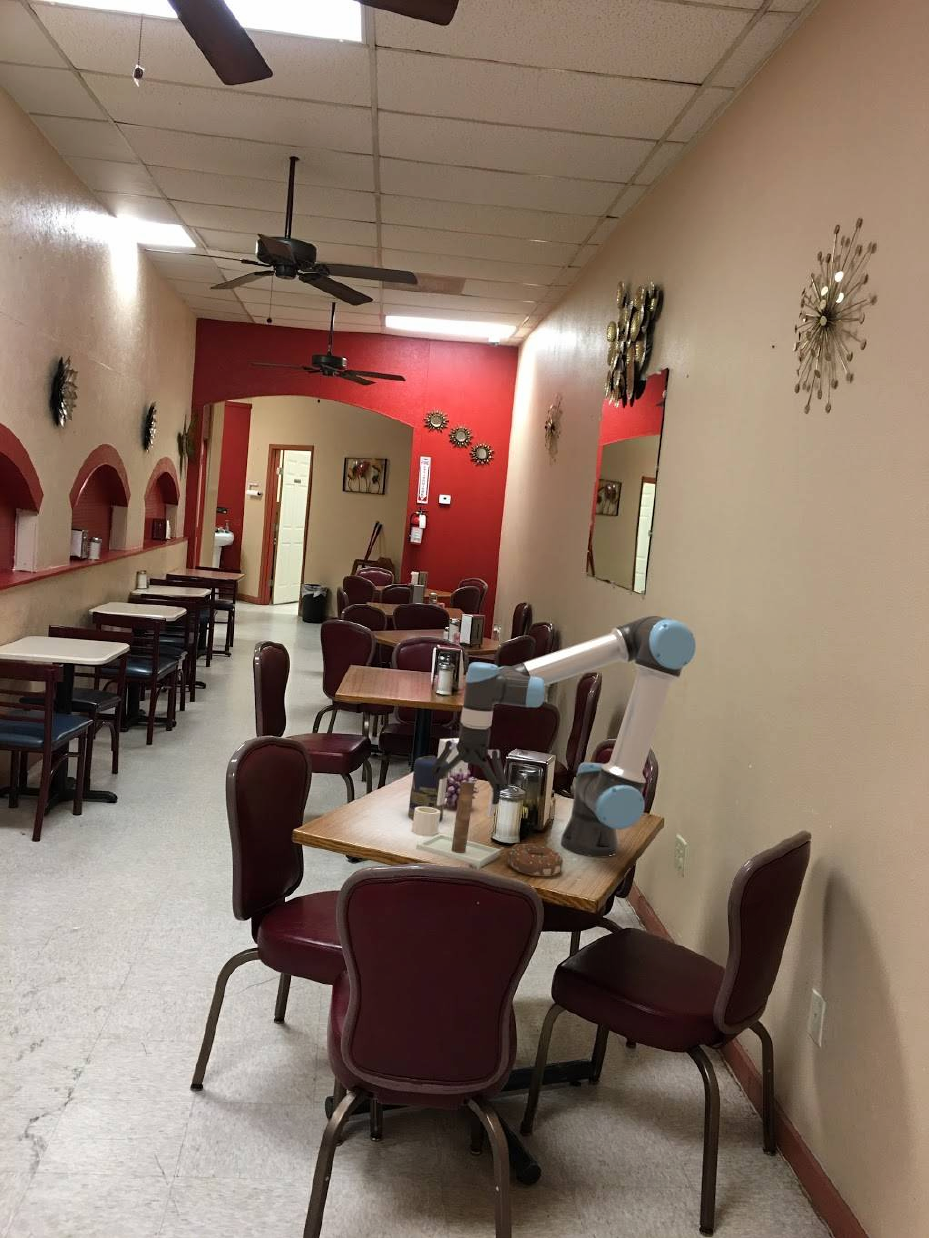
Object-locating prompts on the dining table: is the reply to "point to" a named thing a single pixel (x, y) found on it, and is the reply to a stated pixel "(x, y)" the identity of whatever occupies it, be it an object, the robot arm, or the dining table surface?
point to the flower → (457, 785)
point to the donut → (534, 859)
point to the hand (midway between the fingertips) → (464, 810)
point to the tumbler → (426, 821)
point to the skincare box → (452, 755)
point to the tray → (473, 854)
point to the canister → (425, 786)
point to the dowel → (462, 817)
